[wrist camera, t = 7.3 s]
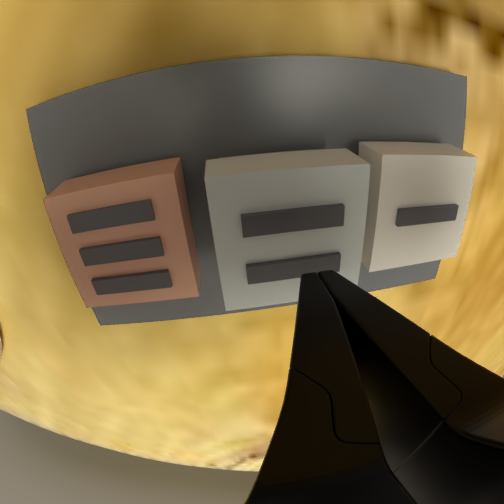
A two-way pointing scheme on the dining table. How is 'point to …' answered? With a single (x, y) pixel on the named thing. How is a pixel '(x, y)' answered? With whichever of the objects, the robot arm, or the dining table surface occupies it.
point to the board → (242, 136)
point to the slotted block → (127, 234)
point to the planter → (0, 348)
